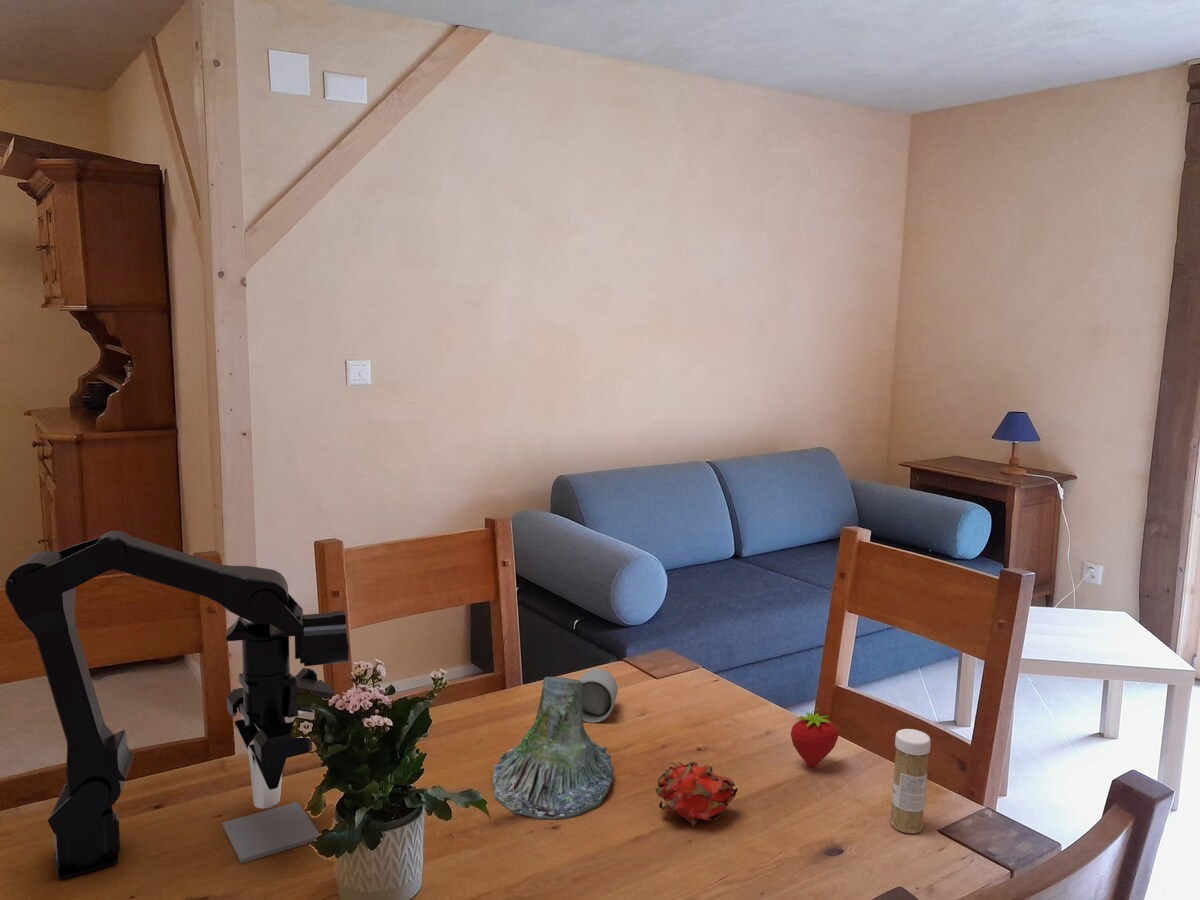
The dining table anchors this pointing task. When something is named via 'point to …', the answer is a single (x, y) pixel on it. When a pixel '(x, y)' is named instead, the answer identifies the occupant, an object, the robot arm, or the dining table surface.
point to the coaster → (270, 832)
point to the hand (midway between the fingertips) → (268, 781)
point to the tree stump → (554, 760)
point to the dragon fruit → (695, 792)
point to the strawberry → (813, 738)
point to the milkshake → (262, 786)
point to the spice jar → (909, 780)
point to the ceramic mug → (598, 695)
